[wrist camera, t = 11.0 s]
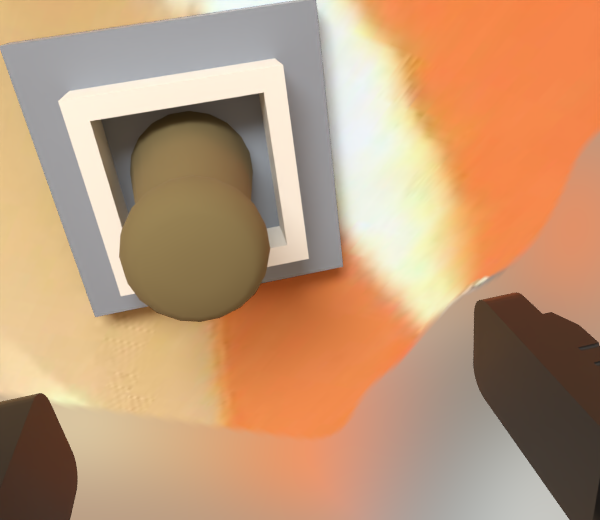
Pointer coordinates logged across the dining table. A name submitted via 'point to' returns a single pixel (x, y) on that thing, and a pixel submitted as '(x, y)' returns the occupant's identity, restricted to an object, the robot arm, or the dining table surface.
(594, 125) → the dining table surface
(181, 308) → the olive brown knobbed peg
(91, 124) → the board
